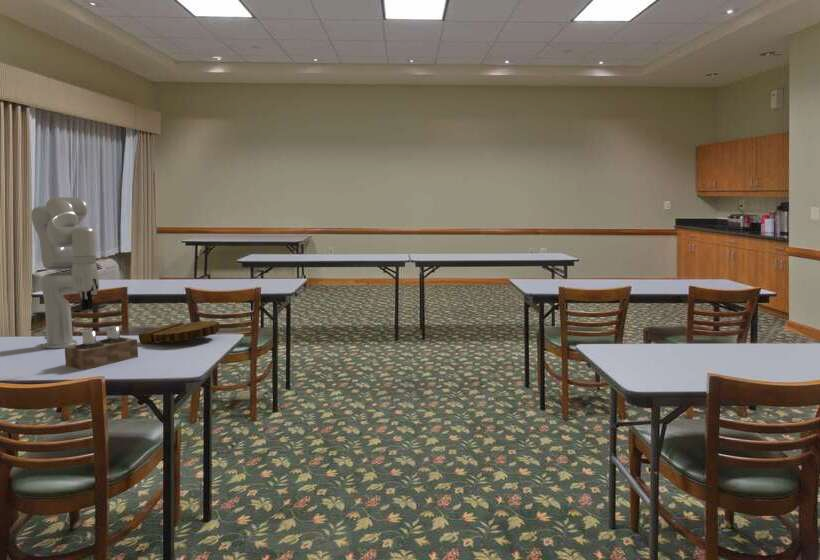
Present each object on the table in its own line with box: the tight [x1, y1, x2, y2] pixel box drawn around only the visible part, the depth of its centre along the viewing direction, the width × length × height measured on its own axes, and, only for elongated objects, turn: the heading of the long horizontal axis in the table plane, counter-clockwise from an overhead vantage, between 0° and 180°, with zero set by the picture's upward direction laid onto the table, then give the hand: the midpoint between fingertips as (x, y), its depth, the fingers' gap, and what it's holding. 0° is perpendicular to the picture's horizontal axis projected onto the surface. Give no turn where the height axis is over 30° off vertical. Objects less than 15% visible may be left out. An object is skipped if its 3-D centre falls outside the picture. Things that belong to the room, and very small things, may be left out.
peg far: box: [106, 325, 121, 341], centre depth 230 cm, size 4×4×8 cm
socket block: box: [64, 336, 139, 371], centre depth 227 cm, size 12×22×8 cm, turn 153°
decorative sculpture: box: [138, 320, 220, 345], centre depth 265 cm, size 30×7×30 cm
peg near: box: [82, 330, 97, 347], centre depth 222 cm, size 4×4×8 cm
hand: (87, 309), depth 220 cm, fingers closed
